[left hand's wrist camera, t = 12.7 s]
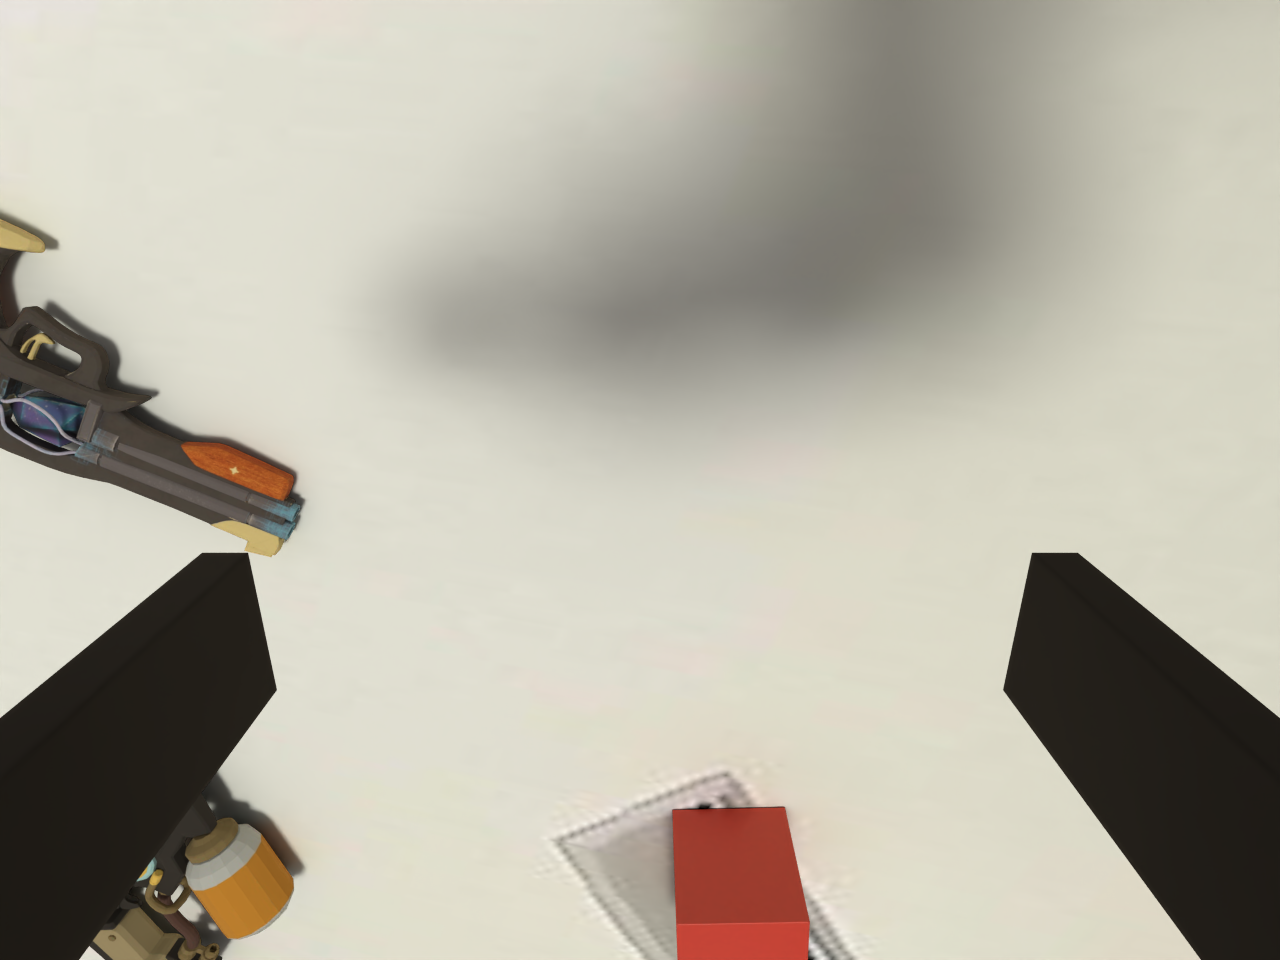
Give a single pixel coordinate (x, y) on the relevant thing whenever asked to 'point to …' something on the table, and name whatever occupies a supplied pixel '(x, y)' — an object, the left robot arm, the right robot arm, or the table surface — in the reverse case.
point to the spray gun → (200, 891)
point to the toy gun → (126, 433)
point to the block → (737, 886)
